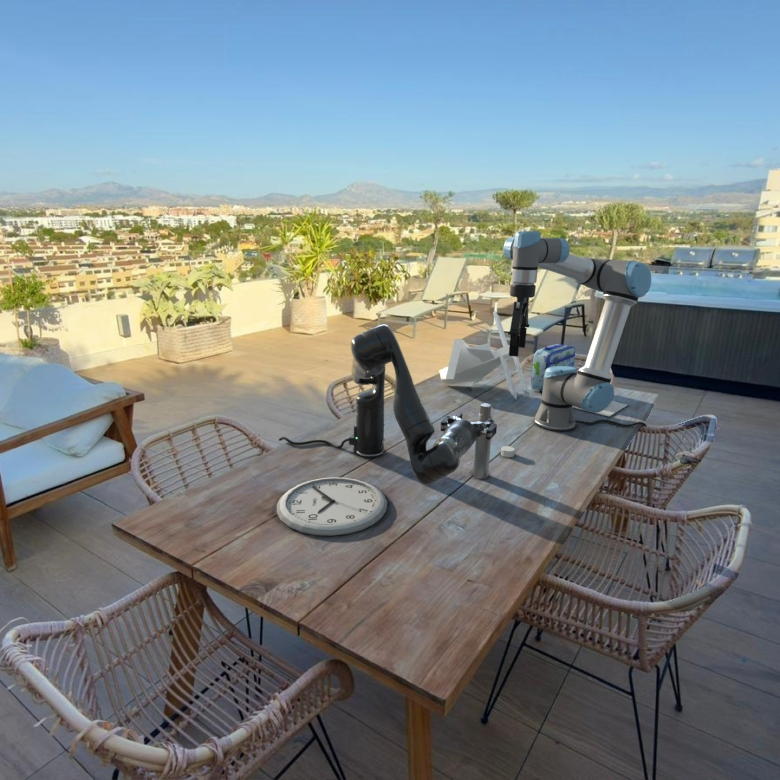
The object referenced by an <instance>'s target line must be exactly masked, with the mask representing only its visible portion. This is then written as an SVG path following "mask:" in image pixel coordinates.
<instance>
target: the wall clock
mask: <svg viewBox="0 0 780 780" xmlns="http://www.w3.org/2000/svg"><path fill="white" fill-rule="evenodd" d="M387 509H388V500H387V498H386V496H385V494H384V493H383V492H382V491H381V490H380V489H379V488H377V487H376V486H374V485H372V484H371V483H369V482H365V481H362V480H359V479H355V478H349V477H338V476H337V477H335V476H333V477H332V476H331V477H322V478H317V479H312V480H307V481H305V482H302V483H299V484H297V485H295V486H293V487H292V488H290V489H288V490H287V491H286V492H285V493H284V494H283V495H281V496H280V498H279V499H278V502H277V503H276V515H277V517H278V518H279V520H280V521H281V522H282V523H283V524H285V525H286V526H287V527H288V528H290V529H293V530H295V531H297V532H299V533H303V534H308V535H312V536H327V537H328V536H329V537H331V536H332V537H333V536H342V535H350V534H352V533H356V532H361V531H363V530H366V529H368V528H369V527H372V526H373V525H375V524H376V523H378V522H379V521H380V520H381V519H382V518H383V517H384V516H385V514H386V512H387Z"/></svg>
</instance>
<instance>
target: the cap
mask: <svg viewBox="0 0 780 780" xmlns="http://www.w3.org/2000/svg"><path fill="white" fill-rule="evenodd" d="M500 455H501V456H502V457H504V458H513V457H515V447H513V446H511V445H504V446H501V449H500Z"/></svg>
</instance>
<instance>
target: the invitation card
mask: <svg viewBox="0 0 780 780" xmlns="http://www.w3.org/2000/svg"><path fill="white" fill-rule="evenodd" d="M628 406H629V404H627V403H623V402H618V401H614V400H612V401H611V403H610V404H609V405H608V407H607V408H605V409H604V410H603V411H601V412H597V413H595V414H596V415H600V416H604V417H608V418H609V417H611V416H613V415H614V414H616V413H617V412H619V411H621V410H623V409H624V408H626V407H628ZM573 409H575V410H581V411H584V412H586V411H585V410H583V409H581V408H578V407H575V406H573ZM587 413H593V412H590V411H587ZM593 414H594V413H593Z"/></svg>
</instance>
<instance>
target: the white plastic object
mask: <svg viewBox="0 0 780 780" xmlns="http://www.w3.org/2000/svg"><path fill="white" fill-rule="evenodd" d="M492 315H493V319H494V321H495V324H496V325H495V326H496V328H497V332H498V335H499V338H500V342H501V345H502V347H500V348H498V349H496V350H495V349H493V348H492V347H491V346H490V344H489V343H488V342H487V343H483V344H479V345H473V346H469V345H468V343H466V342H465V340H464V339H463V338H460V339H458V338H454V340H453V344H452V349H451V353H450V357H449V362H448V366H446V367H444V368H442V369H440V370H439V371H438V372H439V376H440V381H442V383H443V384H444V385H445V386H449V385H458V384H467V383H468V384H469V383H473V384H477V383H480V382H482V381H484V378H485V377H486V376H487V375H489V374H490V373H492V372H494V371H495V370H496V369H497V368H499V367H500V366H502V370H503V373H504V376H505V380H506V383H507V386H508V390H509V393H510V394H511V395H512V397H513V398H514V399H515V400H517V392H516V391H517V390H516V388H515V385H514V381H513V378H512V375H511V371H510V369H509V365H508V361H510V360H513V363H514V366H515V369H516V372H517V376H518V380H519V382H520V385H521V389H522V391H523V393H524V395H525V396H526V397H528V396H531V395H530V390H529V388H528V387H529V386H528V384H527V381H526V378H525V375H524V371H523V369H522V368H523V367H522V366H521V362H520V359H519V356H518V357H516V356H509V347H510V344H508V341H507V337H506V334H505V331H504V328H503V325H502V321H501V318H500V315H499V314H498V312H497V311H496V310H495V311H492Z"/></svg>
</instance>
